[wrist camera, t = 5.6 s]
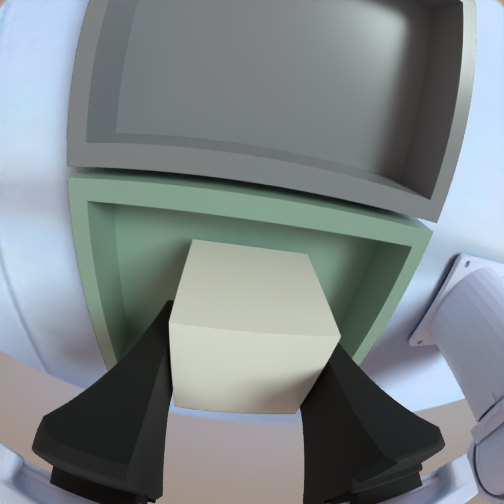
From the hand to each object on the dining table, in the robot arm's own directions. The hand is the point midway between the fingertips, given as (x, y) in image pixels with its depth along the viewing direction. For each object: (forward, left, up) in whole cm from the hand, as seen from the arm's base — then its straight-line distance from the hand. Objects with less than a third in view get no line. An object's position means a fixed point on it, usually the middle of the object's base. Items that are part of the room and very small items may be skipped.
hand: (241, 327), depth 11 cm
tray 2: (0, 0, -3) cm, 3 cm away
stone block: (0, 0, -2) cm, 2 cm away
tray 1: (0, -11, -3) cm, 12 cm away
